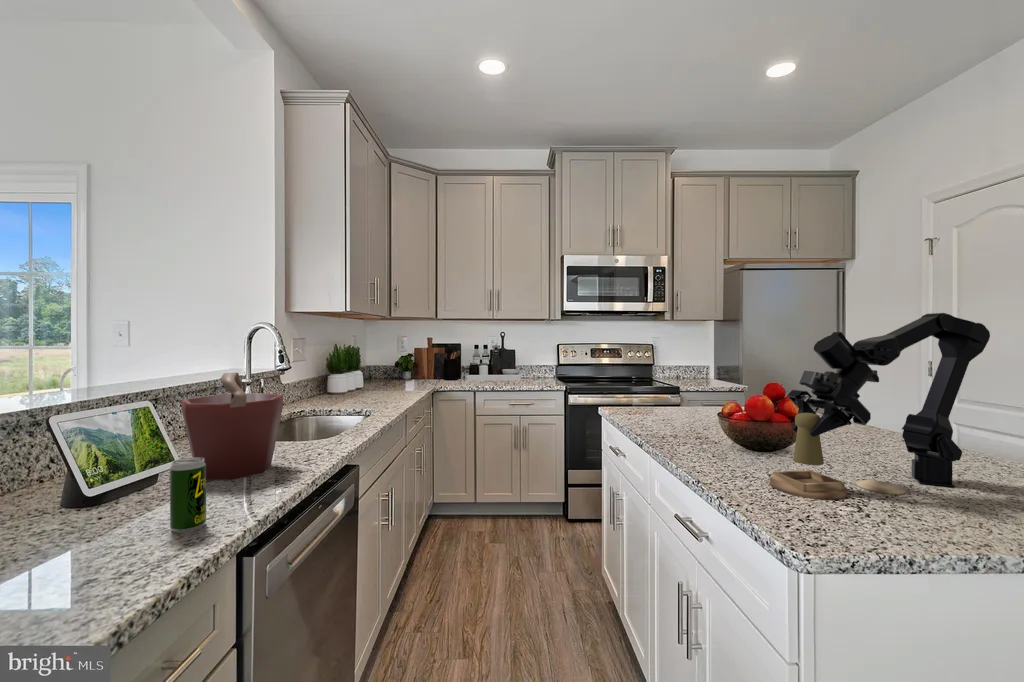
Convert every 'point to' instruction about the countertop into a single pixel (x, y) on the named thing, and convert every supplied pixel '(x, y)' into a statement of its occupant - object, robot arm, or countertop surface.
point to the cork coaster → (881, 487)
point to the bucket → (233, 430)
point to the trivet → (808, 484)
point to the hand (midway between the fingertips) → (802, 432)
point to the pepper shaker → (807, 441)
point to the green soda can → (187, 494)
